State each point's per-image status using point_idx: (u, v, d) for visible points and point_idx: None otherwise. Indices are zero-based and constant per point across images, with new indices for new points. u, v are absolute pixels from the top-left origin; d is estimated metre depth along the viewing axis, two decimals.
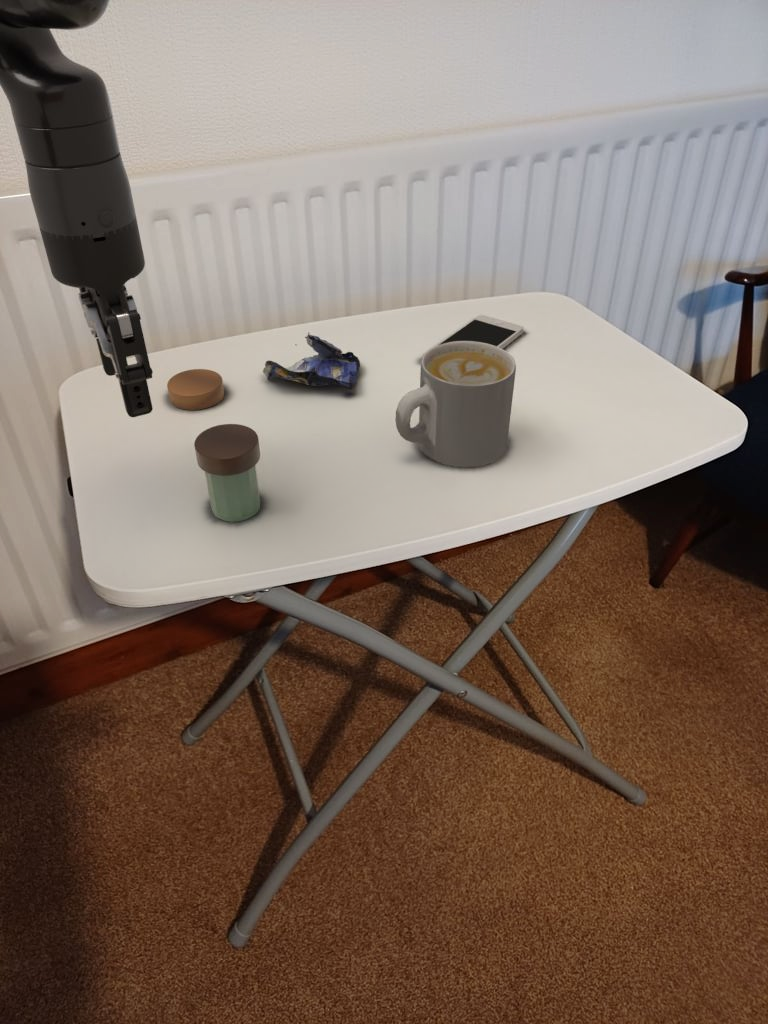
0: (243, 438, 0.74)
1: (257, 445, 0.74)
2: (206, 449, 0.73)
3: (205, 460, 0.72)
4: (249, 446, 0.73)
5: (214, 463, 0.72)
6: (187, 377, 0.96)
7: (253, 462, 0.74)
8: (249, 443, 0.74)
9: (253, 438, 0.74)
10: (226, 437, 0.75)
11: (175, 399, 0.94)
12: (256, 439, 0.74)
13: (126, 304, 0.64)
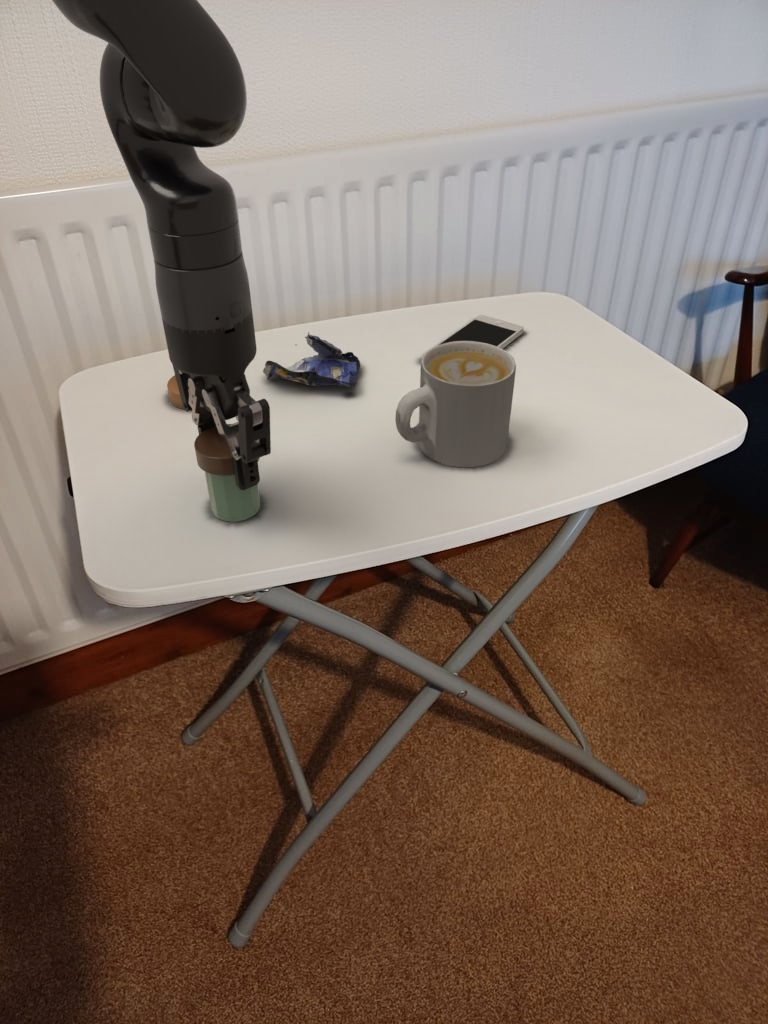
0: None
1: None
2: (206, 449, 0.73)
3: (205, 460, 0.72)
4: None
5: (214, 463, 0.72)
6: None
7: None
8: None
9: None
10: None
11: (175, 399, 0.94)
12: None
13: (248, 387, 0.68)
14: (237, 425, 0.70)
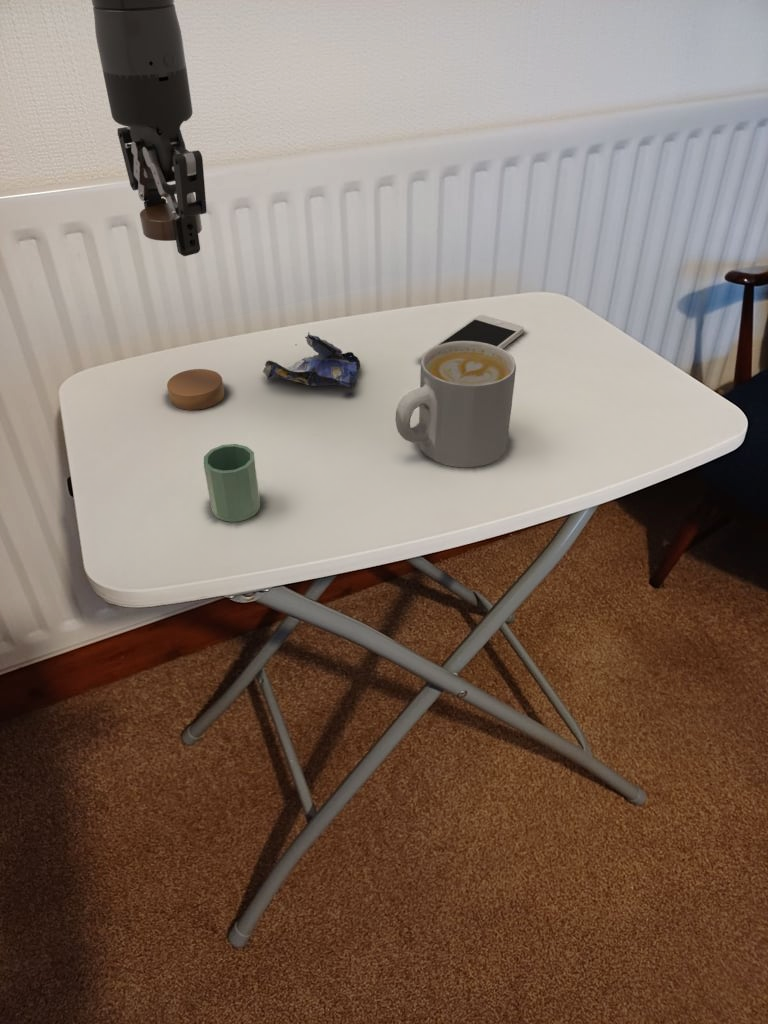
0: None
1: (198, 215, 0.80)
2: (150, 216, 0.79)
3: (148, 224, 0.79)
4: None
5: (156, 227, 0.79)
6: (187, 377, 0.96)
7: None
8: None
9: None
10: None
11: (175, 399, 0.94)
12: None
13: (183, 143, 0.74)
14: (175, 185, 0.76)
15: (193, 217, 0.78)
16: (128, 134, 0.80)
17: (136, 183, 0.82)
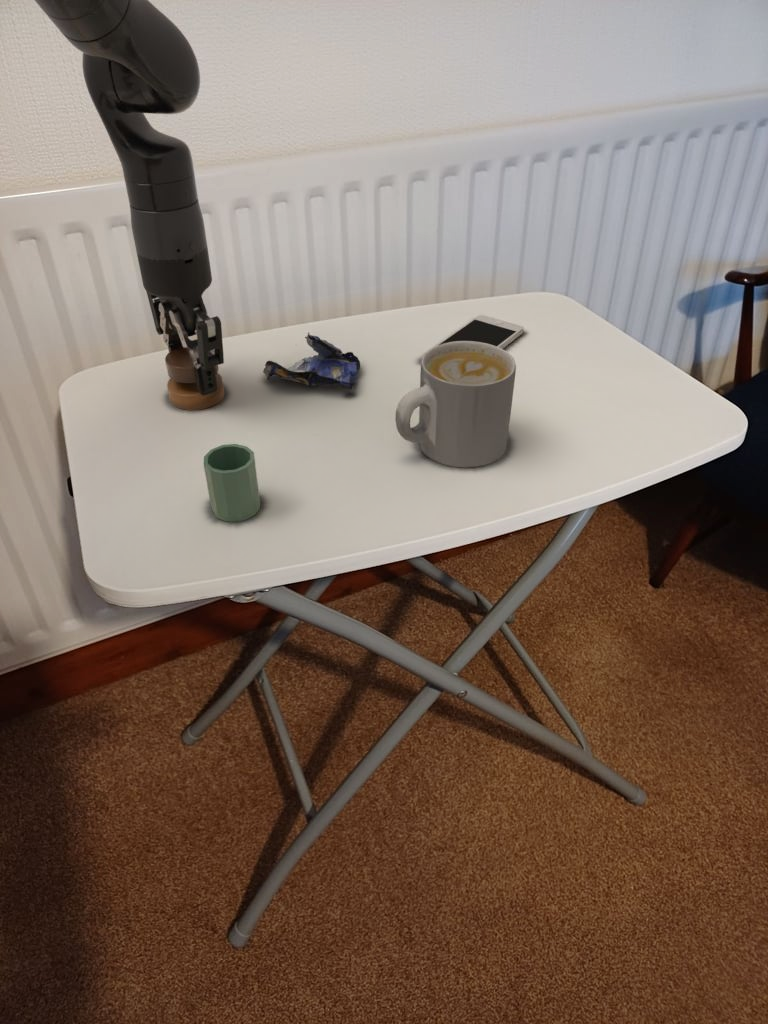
0: None
1: None
2: (175, 361, 0.92)
3: (173, 370, 0.91)
4: None
5: (180, 372, 0.91)
6: None
7: None
8: None
9: None
10: None
11: (175, 399, 0.94)
12: None
13: (204, 308, 0.86)
14: (197, 340, 0.89)
15: None
16: None
17: (161, 329, 0.94)
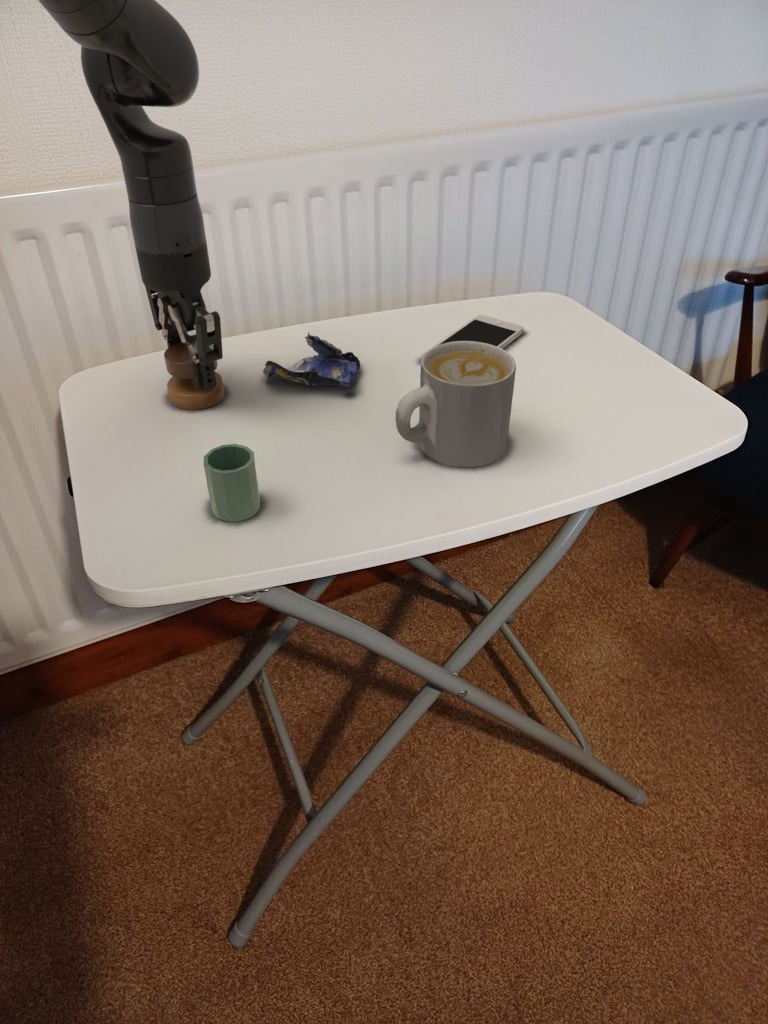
0: None
1: None
2: (173, 357, 0.91)
3: (172, 365, 0.91)
4: None
5: (179, 368, 0.91)
6: None
7: None
8: None
9: None
10: None
11: (175, 399, 0.94)
12: None
13: (203, 302, 0.86)
14: (196, 335, 0.88)
15: None
16: None
17: (160, 325, 0.94)
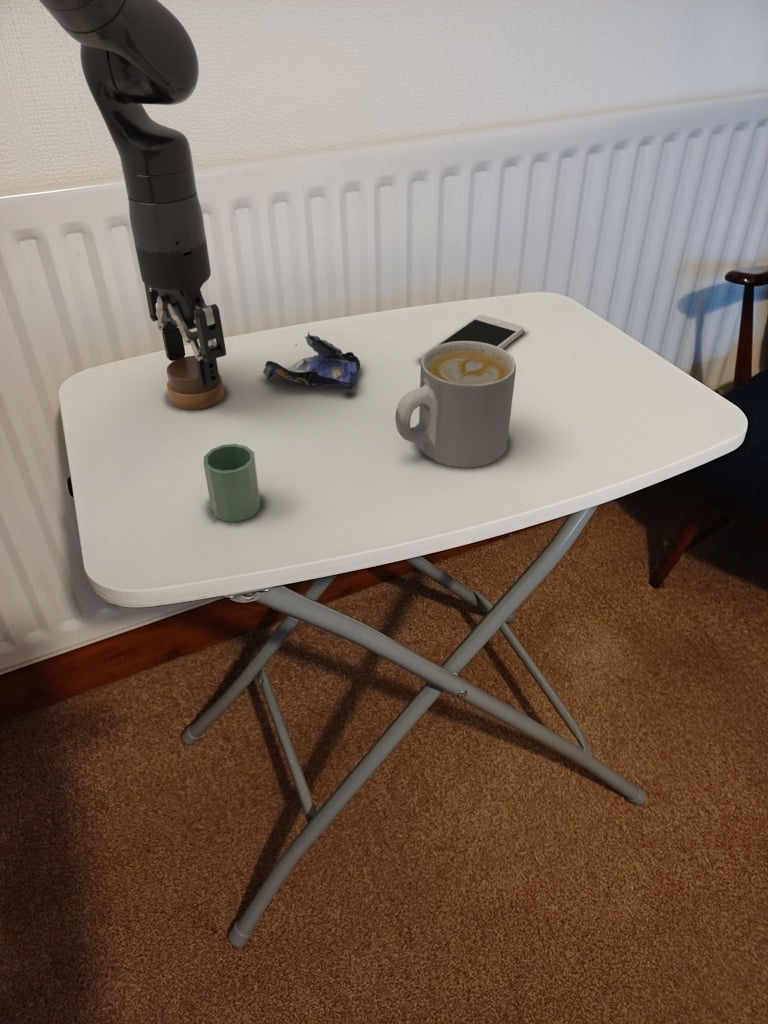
0: None
1: None
2: (176, 373, 0.93)
3: (174, 381, 0.92)
4: None
5: (181, 384, 0.92)
6: None
7: None
8: None
9: None
10: (192, 364, 0.94)
11: (175, 399, 0.94)
12: None
13: (203, 301, 0.86)
14: (197, 331, 0.88)
15: None
16: None
17: (155, 316, 0.94)
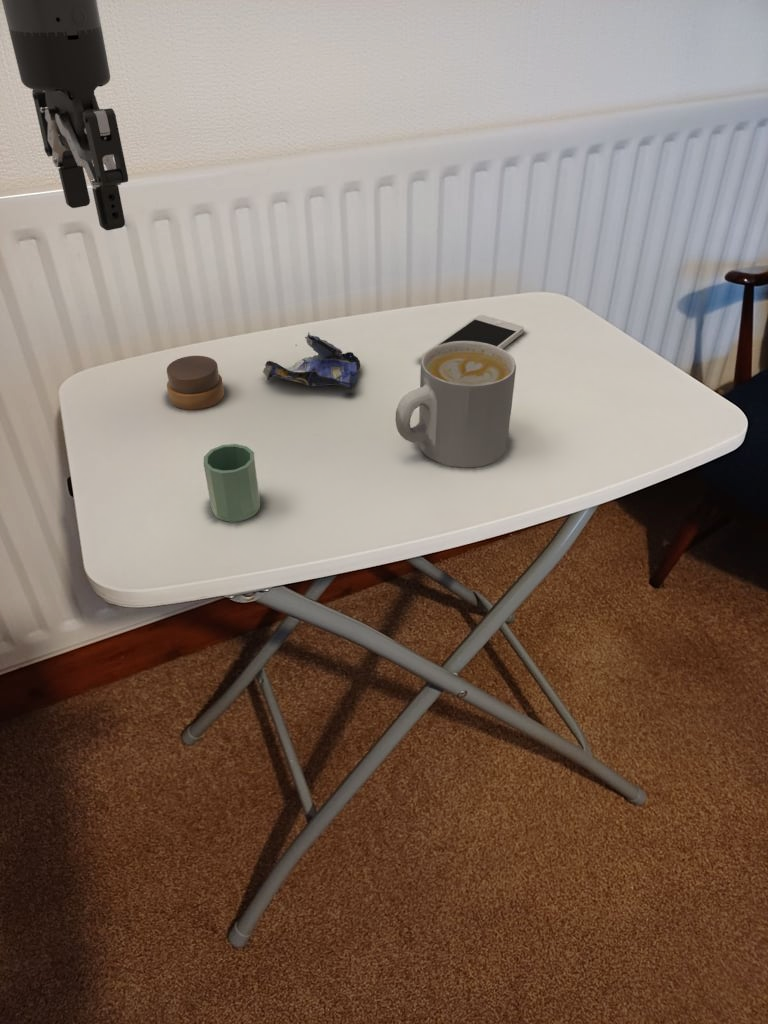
0: (205, 365, 0.94)
1: (216, 370, 0.94)
2: (176, 373, 0.93)
3: (174, 381, 0.92)
4: (209, 371, 0.93)
5: (181, 384, 0.92)
6: None
7: (213, 384, 0.94)
8: (210, 369, 0.93)
9: (213, 365, 0.94)
10: (192, 364, 0.94)
11: (175, 399, 0.94)
12: (215, 366, 0.94)
13: (98, 109, 0.69)
14: None
15: (115, 187, 0.71)
16: (44, 97, 0.74)
17: (50, 148, 0.77)
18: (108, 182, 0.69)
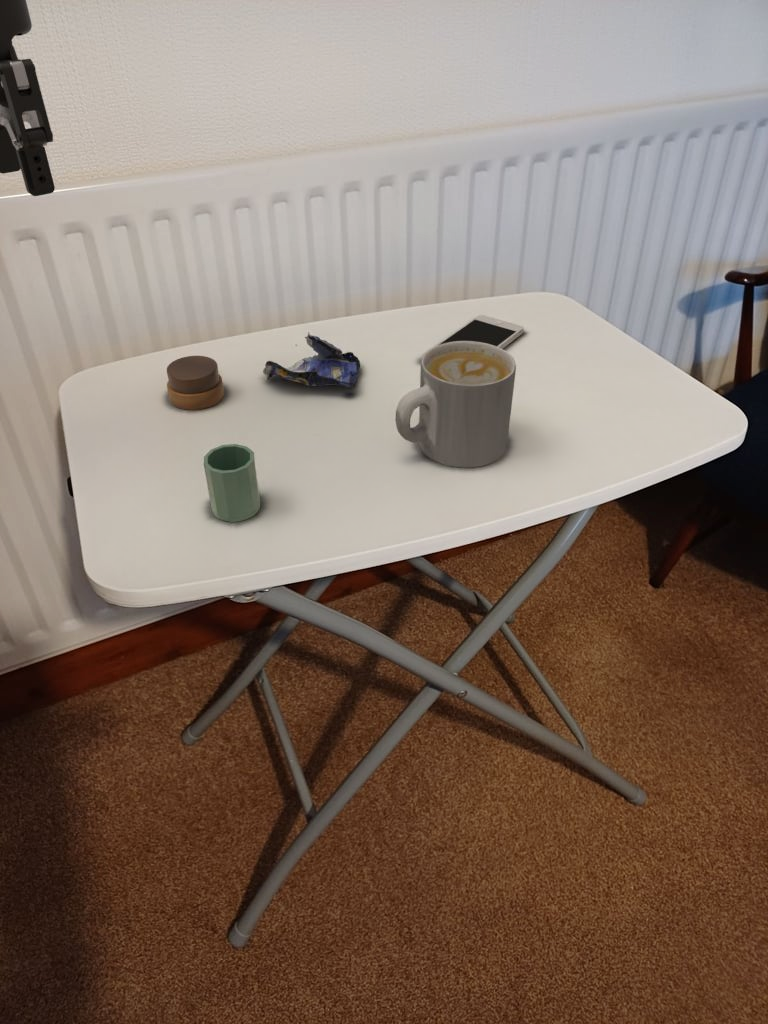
0: (205, 365, 0.94)
1: (216, 370, 0.94)
2: (176, 373, 0.93)
3: (174, 381, 0.92)
4: (209, 371, 0.93)
5: (181, 384, 0.92)
6: None
7: (213, 384, 0.94)
8: (210, 369, 0.93)
9: (213, 365, 0.94)
10: (192, 364, 0.94)
11: (175, 399, 0.94)
12: (215, 366, 0.94)
13: None
14: None
15: (40, 147, 0.65)
16: None
17: None
18: (30, 142, 0.63)
